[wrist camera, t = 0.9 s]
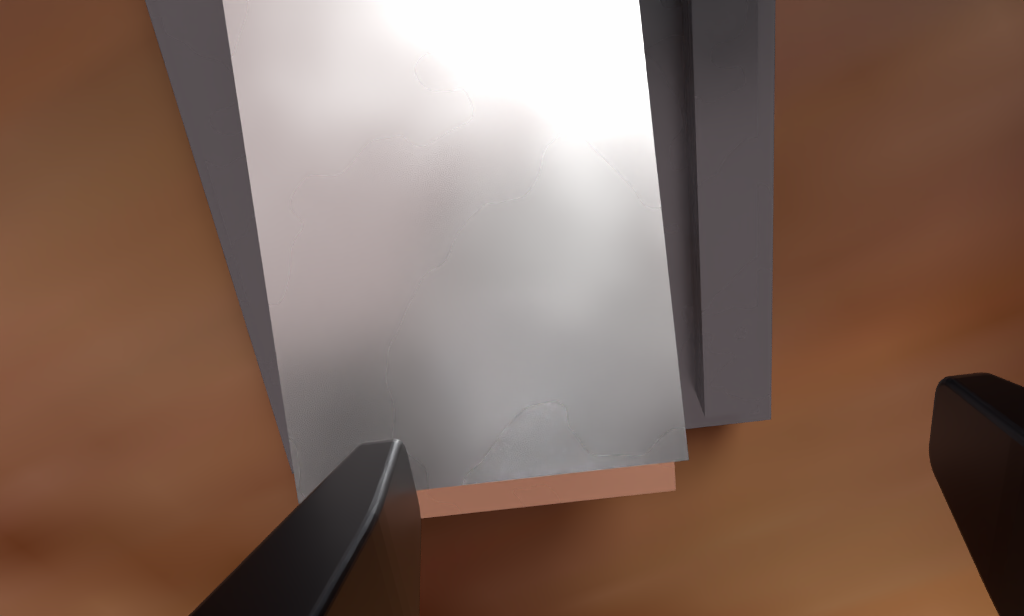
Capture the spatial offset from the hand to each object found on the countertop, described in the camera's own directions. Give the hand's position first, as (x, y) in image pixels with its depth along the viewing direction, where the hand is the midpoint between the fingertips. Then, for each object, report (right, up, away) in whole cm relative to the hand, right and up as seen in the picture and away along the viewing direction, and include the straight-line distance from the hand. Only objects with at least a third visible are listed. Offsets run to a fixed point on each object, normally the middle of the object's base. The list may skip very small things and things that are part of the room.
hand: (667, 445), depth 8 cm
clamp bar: (-3, +8, +3) cm, 9 cm away
